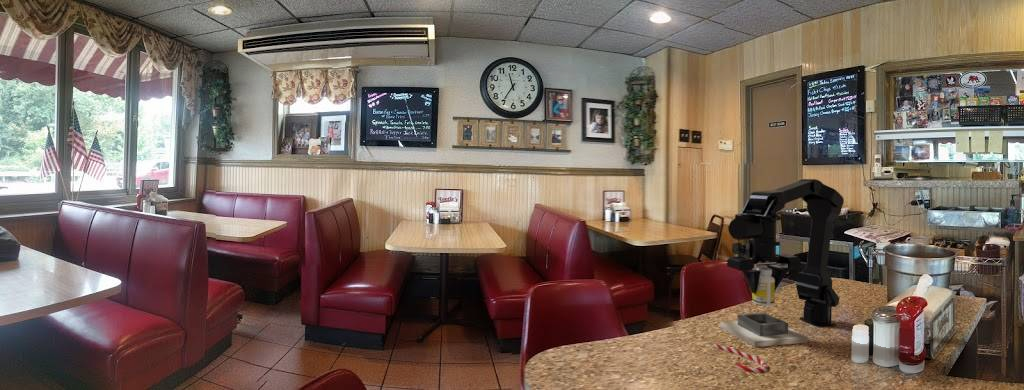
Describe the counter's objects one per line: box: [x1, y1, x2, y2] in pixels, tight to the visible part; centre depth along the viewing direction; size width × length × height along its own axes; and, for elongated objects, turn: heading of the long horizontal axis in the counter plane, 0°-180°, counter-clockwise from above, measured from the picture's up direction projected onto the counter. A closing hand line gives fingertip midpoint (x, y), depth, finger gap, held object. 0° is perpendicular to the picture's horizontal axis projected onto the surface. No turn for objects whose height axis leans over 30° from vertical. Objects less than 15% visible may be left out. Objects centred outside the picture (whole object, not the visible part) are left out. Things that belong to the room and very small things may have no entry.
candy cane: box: [712, 343, 769, 374], centre depth 103 cm, size 8×1×15 cm
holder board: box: [719, 312, 809, 348], centre depth 117 cm, size 16×14×4 cm
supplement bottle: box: [751, 266, 776, 307], centre depth 116 cm, size 5×5×10 cm
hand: (763, 292), depth 117 cm, fingers closed on supplement bottle, 5 cm apart
